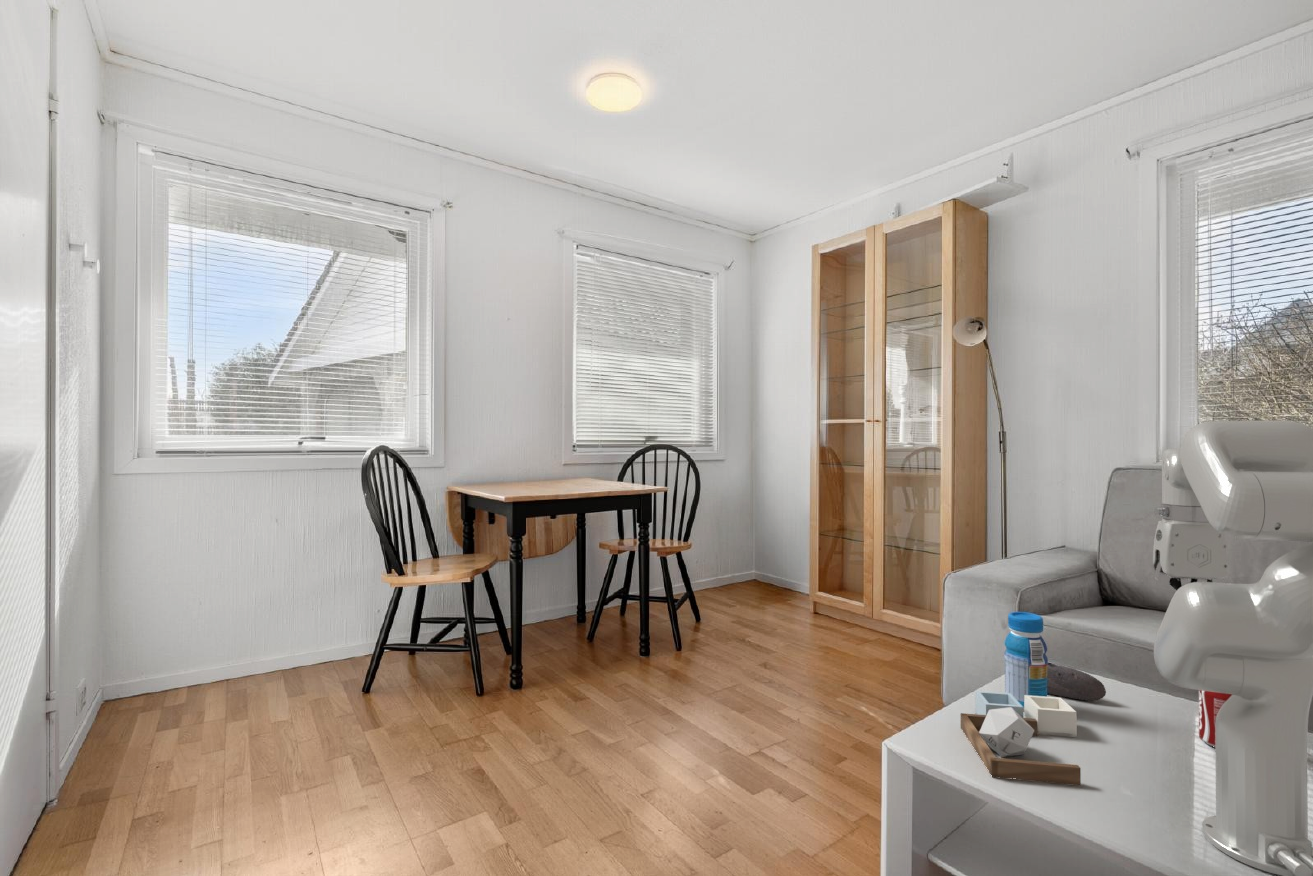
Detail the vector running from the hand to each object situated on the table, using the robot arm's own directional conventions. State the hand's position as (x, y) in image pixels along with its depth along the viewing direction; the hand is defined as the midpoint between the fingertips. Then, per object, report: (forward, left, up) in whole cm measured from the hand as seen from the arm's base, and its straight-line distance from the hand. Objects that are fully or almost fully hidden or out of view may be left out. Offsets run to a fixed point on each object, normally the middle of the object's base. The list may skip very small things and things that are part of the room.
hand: (1189, 614), depth 114 cm
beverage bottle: (+21, +20, -27) cm, 40 cm away
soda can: (+8, -10, -27) cm, 30 cm away
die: (-2, +32, -27) cm, 42 cm away
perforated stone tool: (+28, +9, -27) cm, 40 cm away
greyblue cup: (+10, +29, -27) cm, 41 cm away
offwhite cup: (+10, +20, -27) cm, 35 cm away
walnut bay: (-3, +31, -27) cm, 41 cm away
